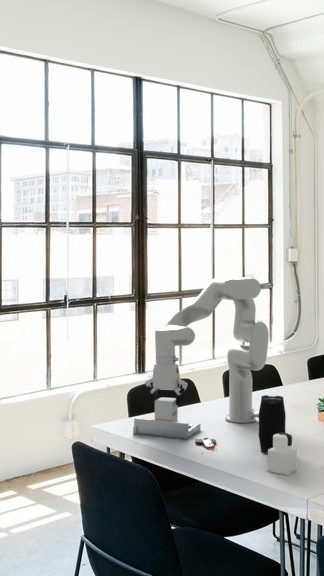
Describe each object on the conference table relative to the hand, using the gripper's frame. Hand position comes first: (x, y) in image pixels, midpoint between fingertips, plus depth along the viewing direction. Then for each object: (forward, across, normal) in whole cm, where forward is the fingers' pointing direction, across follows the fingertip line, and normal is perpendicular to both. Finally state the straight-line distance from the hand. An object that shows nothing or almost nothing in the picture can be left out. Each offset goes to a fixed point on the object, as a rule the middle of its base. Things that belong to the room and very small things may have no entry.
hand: (166, 403), depth 274 cm
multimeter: (+12, -22, +13) cm, 29 cm away
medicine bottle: (+12, -51, +30) cm, 60 cm away
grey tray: (+12, +1, -1) cm, 12 cm away
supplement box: (+11, 0, 0) cm, 11 cm away
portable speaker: (+12, -43, +10) cm, 46 cm away
